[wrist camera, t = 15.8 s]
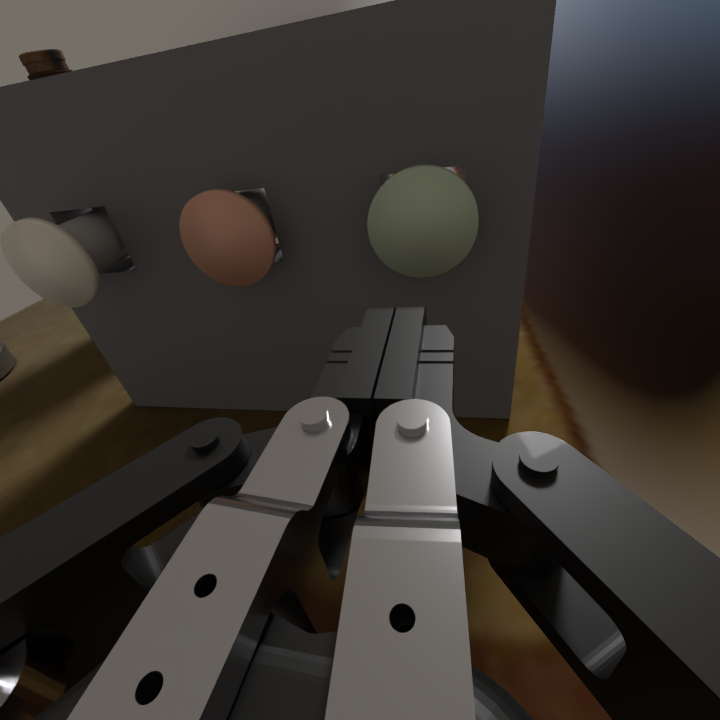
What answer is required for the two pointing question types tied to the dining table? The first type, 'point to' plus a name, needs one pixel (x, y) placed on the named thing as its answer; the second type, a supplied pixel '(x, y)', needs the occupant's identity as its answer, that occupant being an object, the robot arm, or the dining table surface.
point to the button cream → (63, 255)
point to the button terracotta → (230, 235)
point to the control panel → (293, 190)
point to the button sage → (423, 221)
